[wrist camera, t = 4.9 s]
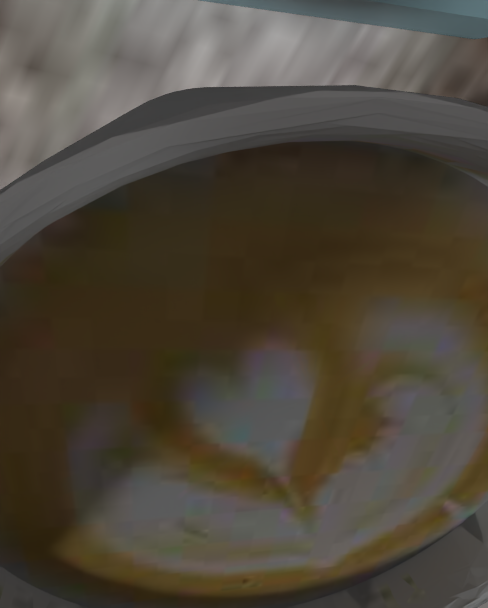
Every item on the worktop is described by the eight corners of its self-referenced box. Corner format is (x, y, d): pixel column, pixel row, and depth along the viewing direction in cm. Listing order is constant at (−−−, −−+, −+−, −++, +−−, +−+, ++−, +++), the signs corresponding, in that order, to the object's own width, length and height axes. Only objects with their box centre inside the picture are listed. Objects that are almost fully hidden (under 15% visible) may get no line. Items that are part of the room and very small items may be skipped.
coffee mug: (97, 24, 10) (-357, -382, 1) (403, 157, 13) (860, 293, 4) (32, 406, 15) (-142, 810, 7) (259, 437, 18) (338, 743, 10)
